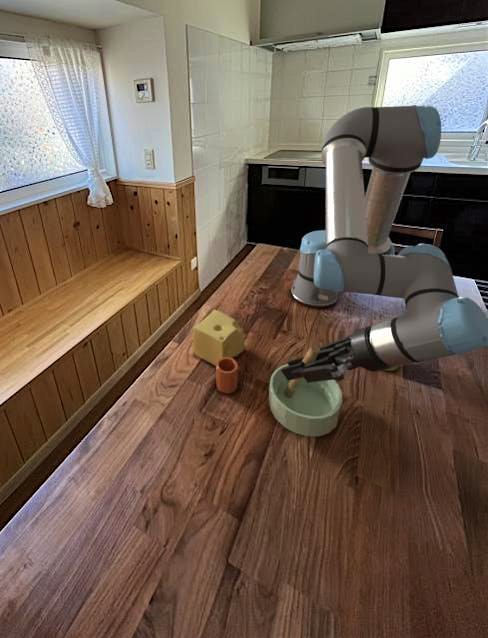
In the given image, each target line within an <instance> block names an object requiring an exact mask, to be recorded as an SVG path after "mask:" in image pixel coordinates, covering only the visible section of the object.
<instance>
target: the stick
mask: <svg viewBox="0 0 488 638" xmlns="http://www.w3.org/2000/svg"><path fill="white" fill-rule="evenodd" d="M319 347H320V346H318V345H316V344H311V346H310V347H309V348H308V350H307V352H306V354H305V355H304V356H305V357H304V356H303V357H304V359H303V360H302V361H303V362H304V363H305V364H307V363H310V362H313V361H315V359H316V358H317V356H318V354H319V353H320V348H319ZM303 378H304V377H302V378H297V379H293V380H291V381H290V382H289V384H288V386H287V387H286V389H285V391H284V394H285V396H286V397H288V398H291V397H292V396H293V394H294V392H295V391H296V389H297V388H298V386H299V385H300V383H301V381H302V380H303Z"/></svg>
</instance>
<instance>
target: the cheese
mask: <svg viewBox="0 0 488 638" xmlns="http://www.w3.org/2000/svg"><path fill="white" fill-rule="evenodd" d="M244 334H245V333H244V329H243V328H242V327H241V326H240V325H239V324H238V322H237V320H236V319H234V318H233V317H231V316H229V315H227V314H225V313H224V312H222V311H221V310H217V309H213V310H212V311H211V312H210V313H209V314H208V315H207V316H206V317H205V318H204V319H202V320H201V321H200V322H199V323H198V324H196V325H195V326H193V331H192V347H193V353H194V355H195V356H197V357H198V358H200V359H201V360H204V361H206V362H208V363H210V364H212V365H213V366H215V367H216V363H217V361H218V360H219V359H220V358H223V357H230V358H233V359H234V357H237V356H239V354H241V353H242V352H244V350H245V345H246V344H245V341H244V340H243V338H244V336H245V335H244Z"/></svg>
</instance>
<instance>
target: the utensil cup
mask: <svg viewBox="0 0 488 638" xmlns="http://www.w3.org/2000/svg"><path fill="white" fill-rule="evenodd" d="M215 384H216V388H217V389H218V391H219V392H221V393H224V394H231V393H234V392H236V390H237V389H238V385H239V364H238V362H237V360H235V358H234V357H233V358H230V357H223V358H220V359H219V360H218V361H217V363H216V366H215Z"/></svg>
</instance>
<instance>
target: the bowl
mask: <svg viewBox="0 0 488 638" xmlns="http://www.w3.org/2000/svg"><path fill="white" fill-rule="evenodd" d="M285 367H289V365H288V364H287V363H286V364H283V365H281V366H279V367H278V368H276V369H275V370H274V372H273V373H272V375H270V379H269V380H270V381H269V388H268V404H269V410H270V412H271V413H272V415H273V417H274V418H275V420H276V421H277V422H278V423H279V424H281V425H282V427H284V428H285V429H287V430H288V431H291V432H293V433H294V434H297V435H301V436H304V437H321V436H324V435H327V434H329V433H331V432H332V431H333V430H334V429H335V428H336V427H337V425H338V423H339V420H340V415H341V410H342V406H343V392H342V389H341V388H340V385H339V383H338V381H337V380H327V381H318V382H309V383H307V381H306V380H305V379H304V378H303V380H302V381H301V383H300V385H299V386H298V388H297V389H296V391H295V392H294V394H293V396H292V397H291V398H288V397H286V396H285V394H284V391H285V389H286V387H287V386H288V384H289V382H290V381H291V380H289V381H288V380H287V379H286V377H285V376H284V374H283V373H282V371H281V369H282V368H285Z"/></svg>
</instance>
